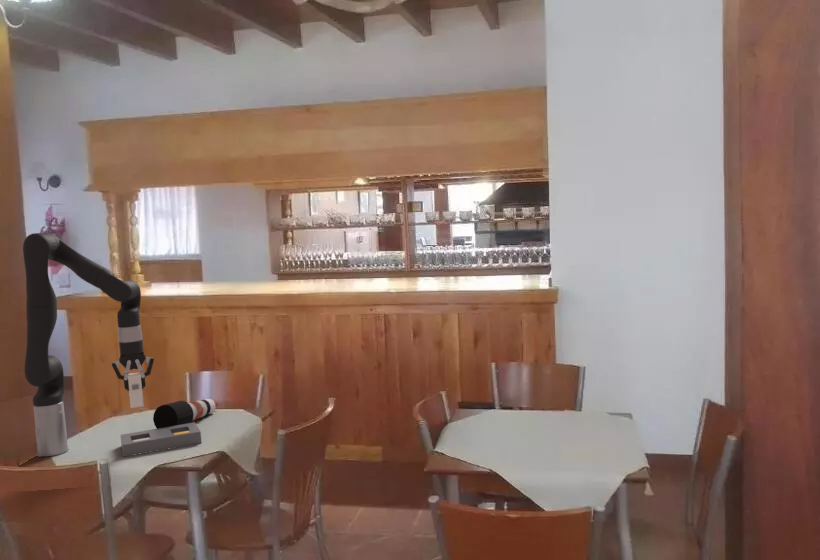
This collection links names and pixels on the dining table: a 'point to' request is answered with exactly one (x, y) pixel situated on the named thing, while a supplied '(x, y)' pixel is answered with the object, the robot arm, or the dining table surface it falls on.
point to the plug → (135, 390)
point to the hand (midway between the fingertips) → (135, 389)
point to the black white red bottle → (182, 412)
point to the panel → (160, 439)
